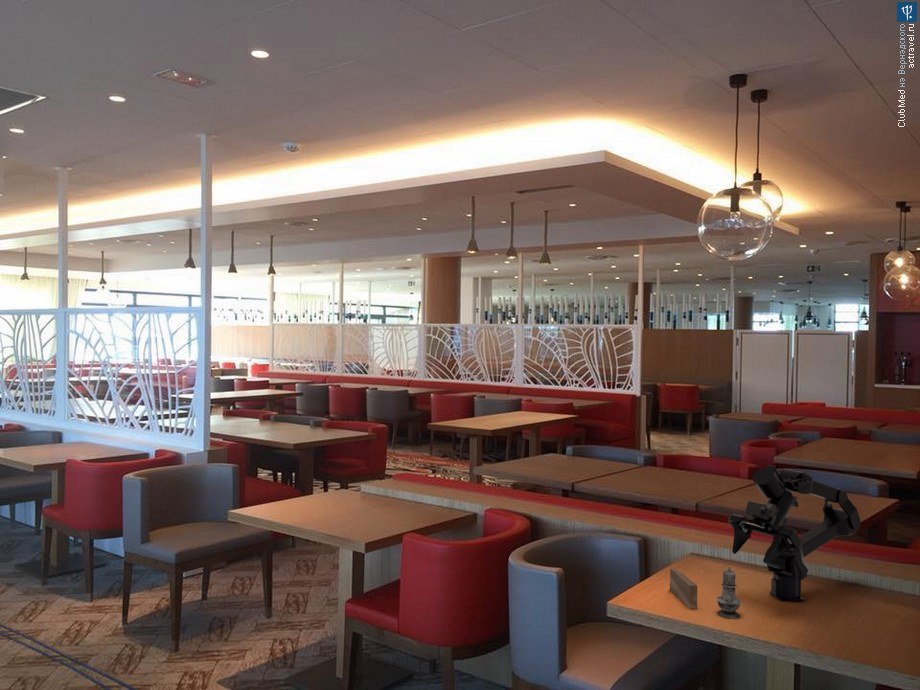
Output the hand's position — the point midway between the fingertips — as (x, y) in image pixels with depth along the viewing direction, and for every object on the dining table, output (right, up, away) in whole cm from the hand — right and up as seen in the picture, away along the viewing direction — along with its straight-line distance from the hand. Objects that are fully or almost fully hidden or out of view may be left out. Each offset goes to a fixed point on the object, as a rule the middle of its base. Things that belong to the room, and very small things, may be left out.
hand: (748, 557), depth 199 cm
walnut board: (-15, -13, +6) cm, 21 cm away
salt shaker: (-6, -13, -4) cm, 15 cm away
